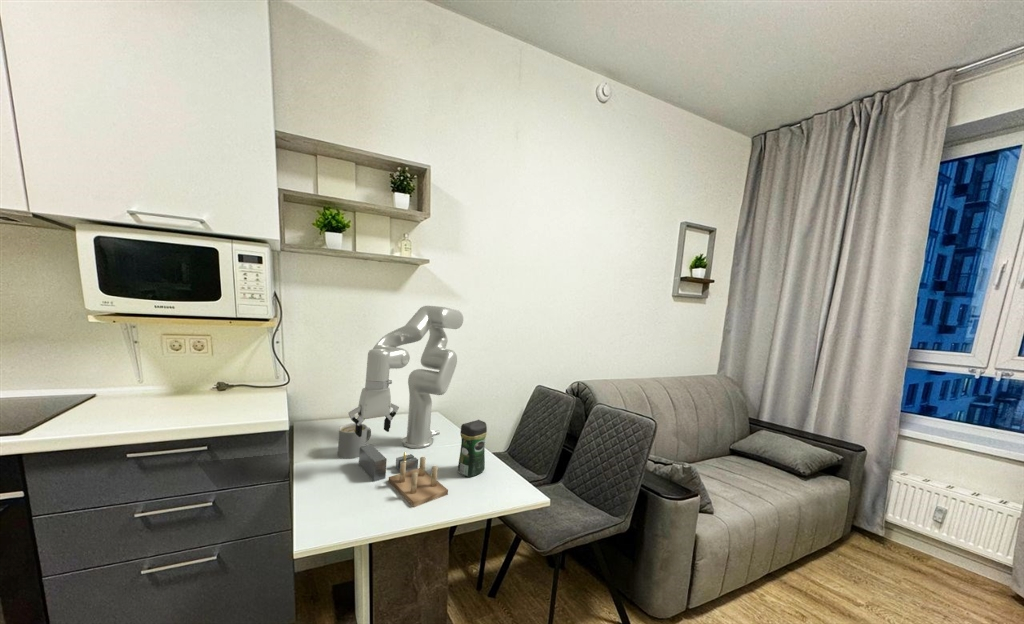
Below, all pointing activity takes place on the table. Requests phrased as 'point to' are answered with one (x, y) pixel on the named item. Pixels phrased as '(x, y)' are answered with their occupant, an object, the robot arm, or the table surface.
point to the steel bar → (372, 462)
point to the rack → (418, 484)
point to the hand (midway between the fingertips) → (372, 433)
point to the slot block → (407, 462)
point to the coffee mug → (352, 440)
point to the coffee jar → (472, 448)
